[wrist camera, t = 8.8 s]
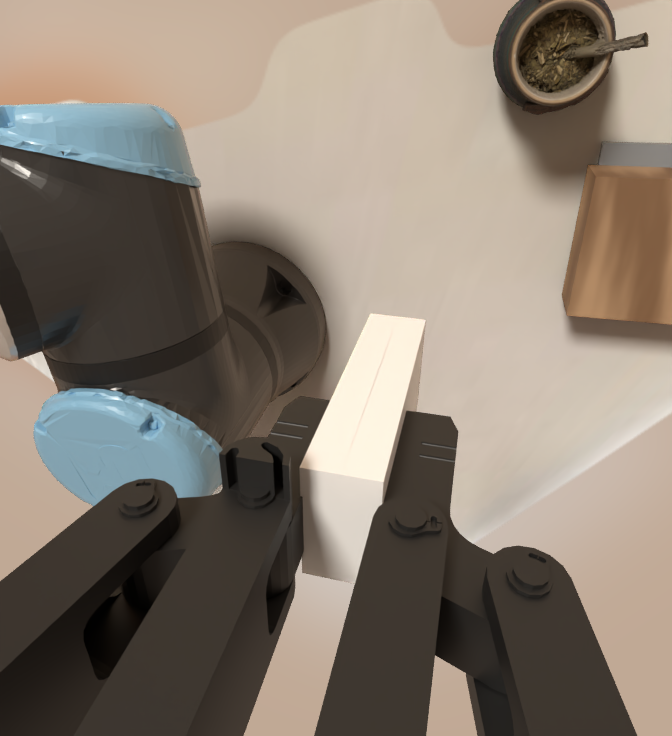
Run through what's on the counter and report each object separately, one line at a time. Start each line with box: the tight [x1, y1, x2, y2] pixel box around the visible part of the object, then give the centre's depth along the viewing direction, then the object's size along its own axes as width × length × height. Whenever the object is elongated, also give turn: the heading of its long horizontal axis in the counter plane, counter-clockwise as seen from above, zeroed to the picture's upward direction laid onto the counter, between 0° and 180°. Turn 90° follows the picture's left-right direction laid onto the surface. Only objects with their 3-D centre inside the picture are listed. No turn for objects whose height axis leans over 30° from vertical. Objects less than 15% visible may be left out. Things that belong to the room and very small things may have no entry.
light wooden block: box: [562, 165, 672, 325], centre depth 41 cm, size 4×10×12 cm
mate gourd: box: [493, 0, 648, 115], centre depth 34 cm, size 7×8×10 cm
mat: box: [598, 142, 672, 168], centre depth 42 cm, size 11×13×1 cm
